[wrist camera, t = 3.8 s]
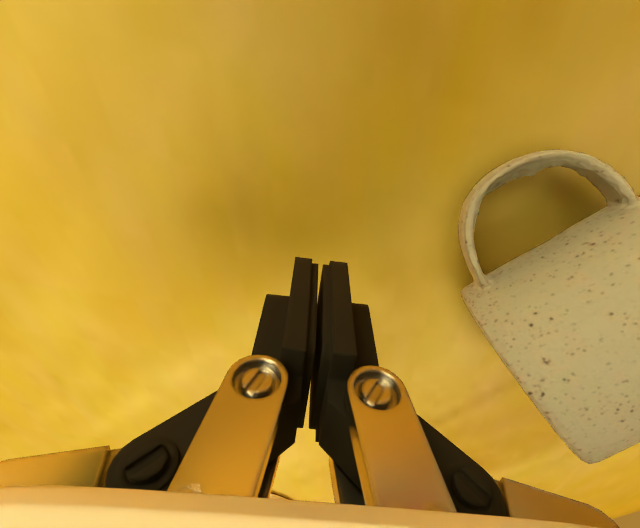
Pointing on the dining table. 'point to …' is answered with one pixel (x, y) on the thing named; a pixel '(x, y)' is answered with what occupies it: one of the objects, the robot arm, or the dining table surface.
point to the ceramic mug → (568, 309)
